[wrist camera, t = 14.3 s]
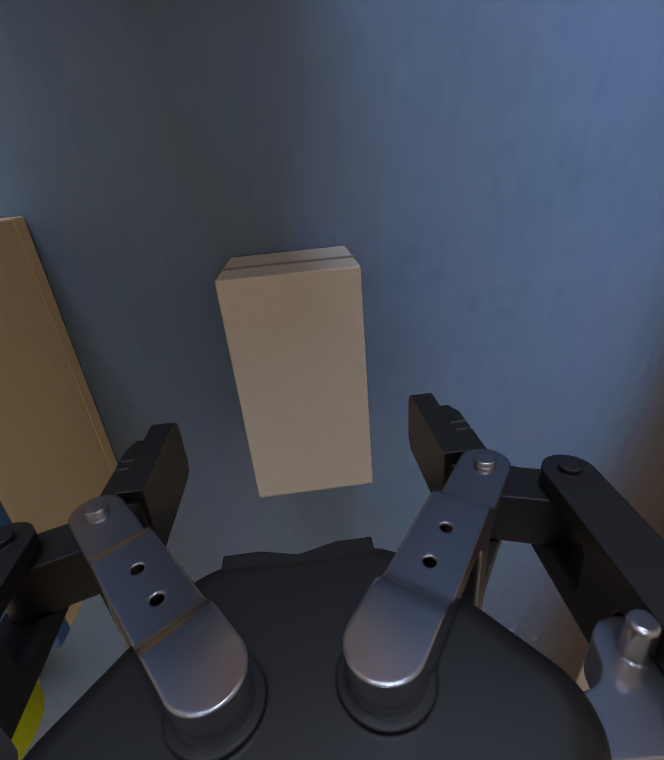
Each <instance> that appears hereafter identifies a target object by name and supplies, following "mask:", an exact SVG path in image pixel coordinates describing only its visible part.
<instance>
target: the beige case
mask: <svg viewBox="0 0 664 760" xmlns="http://www.w3.org/2000/svg"><path fill="white" fill-rule="evenodd" d="M219 273H220V275H219V276H218V278H217V279H216V281H215V286H216V291H217V296H218V300H219V305H220V310H221V315H222V320H223V324H224V329H225V334H226V339H227V344H228V348H229V353H230V358H231V363H232V368H233V372H234V377H235V382H236V387H237V392H238V396H239V401H240V406H241V411H242V416H243V420H244V425H245V430H246V435H247V440H248V444H249V449H250V454H251V459H252V464H253V468H254V473H255V478H256V483H257V488H258V492H259V496H260V497H268V496H276V495H283V494H291V493H299V492H306V491H314V490H321V489H329V488H336V487H344V486H352V485H359V484H367V483H372V481H373V480H372V462H371V444H370V426H369V409H368V391H367V373H366V355H365V337H364V320H363V302H362V284H361V267H360V265H359V264H358V263H357V261H356V258H355V255H351V254H350V252H349V251H348V250H347V248H346V247H345V246H337V247H328V248H318V249H309V250H299V251H290V252H280V253H271V254H261V255H252V256H242V257H233V258H230V259H229V261H228V262H227V264H226V265H225V267H224V268H223V269H220V270H219Z"/></svg>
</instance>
